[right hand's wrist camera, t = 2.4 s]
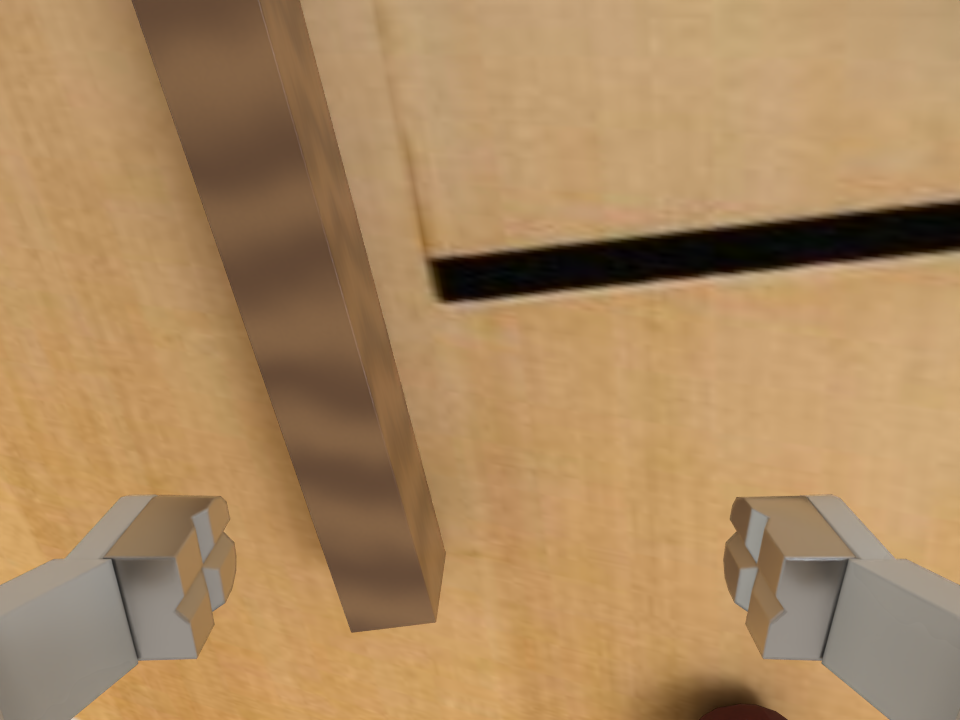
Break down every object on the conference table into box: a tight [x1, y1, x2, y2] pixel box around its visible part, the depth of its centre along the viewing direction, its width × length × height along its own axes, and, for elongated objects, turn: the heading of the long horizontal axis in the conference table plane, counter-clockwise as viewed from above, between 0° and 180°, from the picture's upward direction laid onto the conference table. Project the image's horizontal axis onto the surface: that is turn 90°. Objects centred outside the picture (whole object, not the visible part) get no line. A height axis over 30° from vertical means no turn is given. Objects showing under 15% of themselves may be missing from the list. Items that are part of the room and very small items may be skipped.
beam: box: [132, 0, 446, 633], centre depth 26 cm, size 61×5×6 cm, turn 11°
